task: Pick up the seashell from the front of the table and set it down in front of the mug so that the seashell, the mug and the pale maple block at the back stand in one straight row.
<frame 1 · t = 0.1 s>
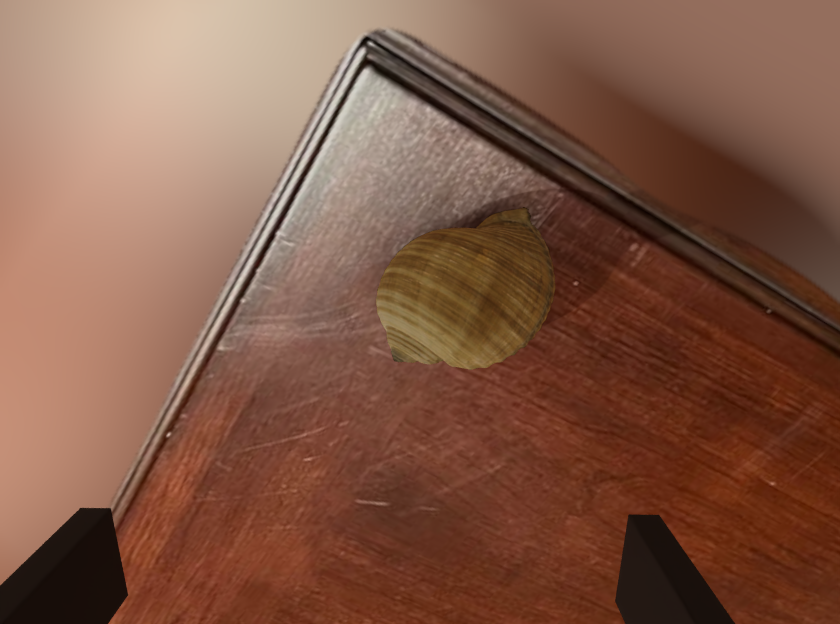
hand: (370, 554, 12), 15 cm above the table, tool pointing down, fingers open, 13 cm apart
seashell: (467, 279, 25), on the table
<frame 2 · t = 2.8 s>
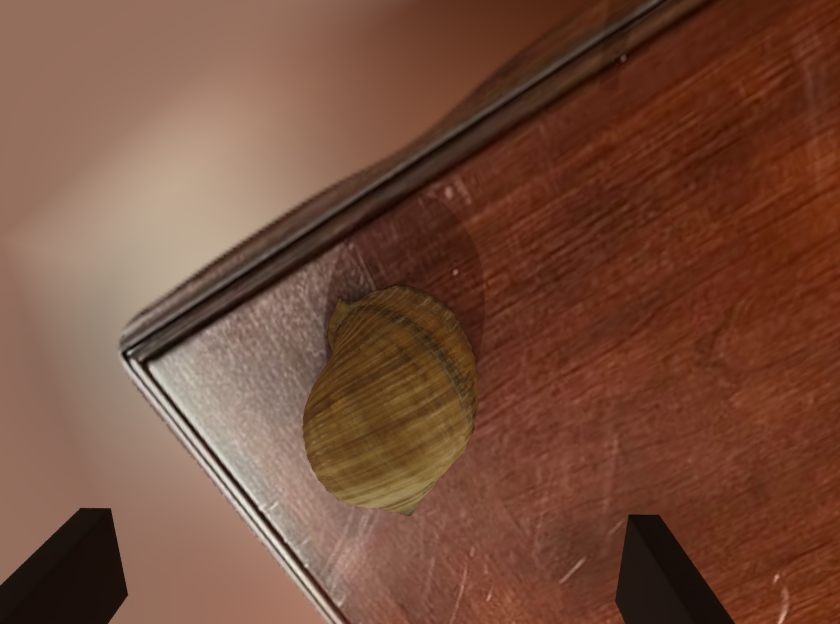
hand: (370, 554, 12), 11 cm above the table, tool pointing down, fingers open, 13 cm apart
seashell: (391, 373, 22), on the table
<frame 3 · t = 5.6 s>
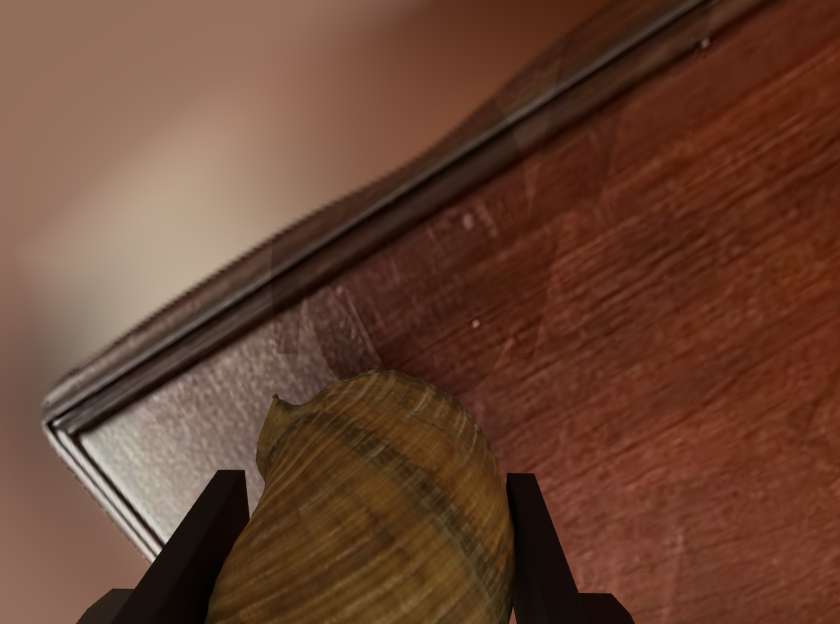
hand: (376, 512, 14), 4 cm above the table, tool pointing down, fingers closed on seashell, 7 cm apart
seashell: (369, 501, 14), point 3 cm above the table, touching gripper
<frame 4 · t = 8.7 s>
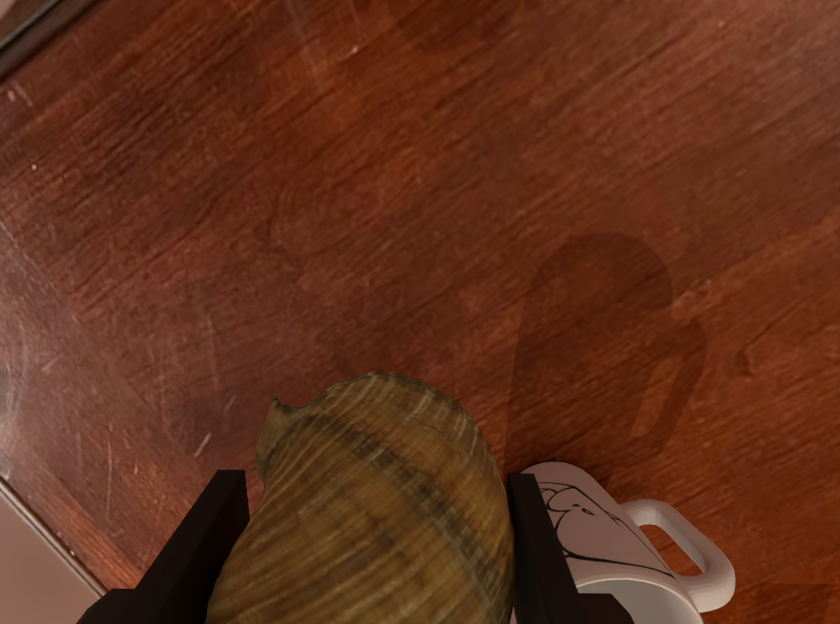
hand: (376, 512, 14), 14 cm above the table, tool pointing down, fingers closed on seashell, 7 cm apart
mug: (572, 496, 30), on the table
seashell: (368, 503, 14), point 14 cm above the table, touching gripper
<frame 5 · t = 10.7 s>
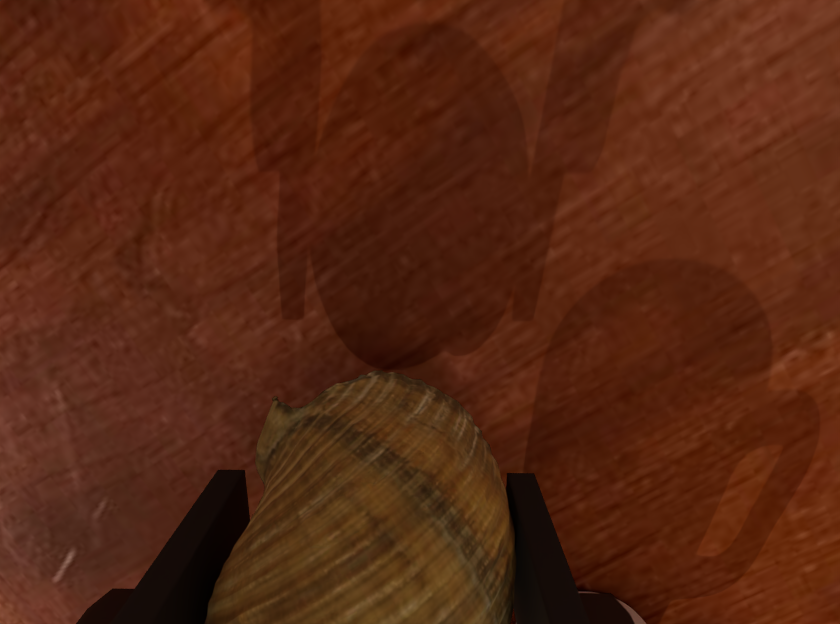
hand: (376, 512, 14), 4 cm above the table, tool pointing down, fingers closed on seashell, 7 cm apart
seashell: (369, 503, 14), point 4 cm above the table, touching gripper
when the fingers open (0 cm above the table, at t = 12.0 s): seashell stays where it is, on the table.
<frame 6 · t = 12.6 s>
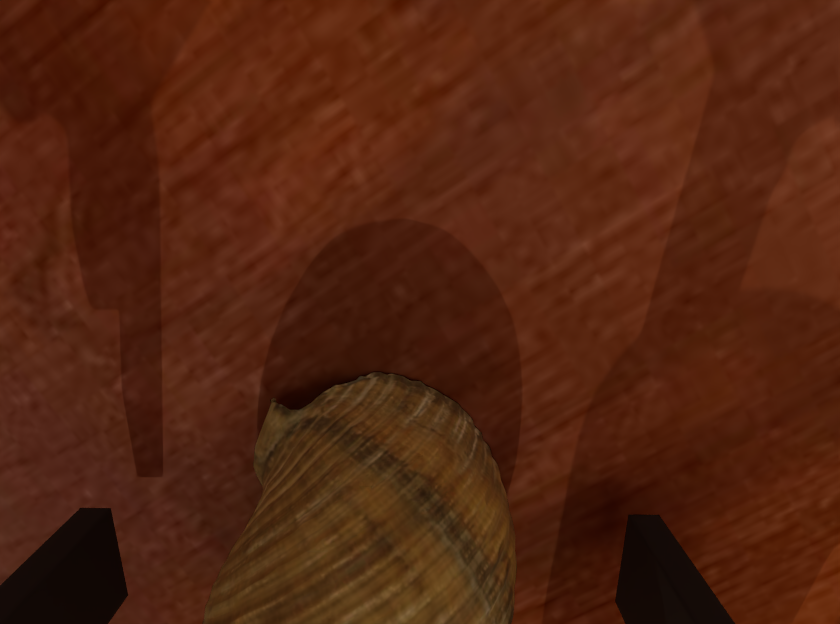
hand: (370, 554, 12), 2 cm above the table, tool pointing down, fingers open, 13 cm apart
seashell: (368, 505, 14), on the table
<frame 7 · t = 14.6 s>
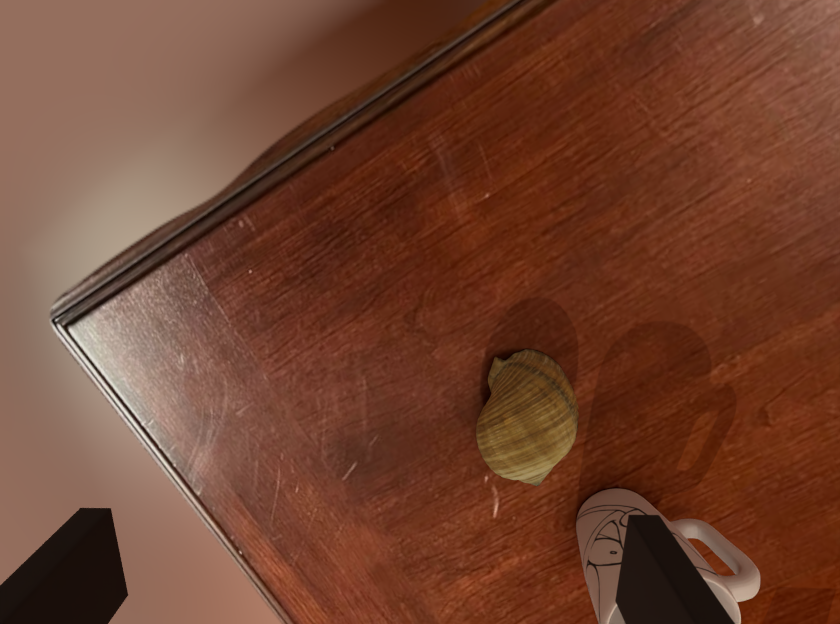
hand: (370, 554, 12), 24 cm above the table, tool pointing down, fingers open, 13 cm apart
mug: (630, 515, 39), on the table
seashell: (518, 401, 37), on the table
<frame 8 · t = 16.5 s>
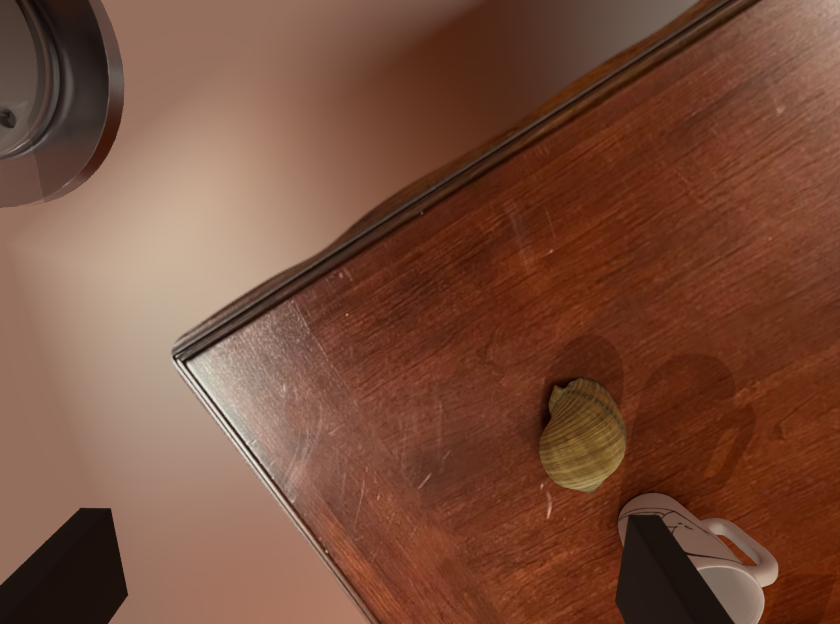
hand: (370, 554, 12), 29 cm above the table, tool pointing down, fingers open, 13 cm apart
mug: (663, 515, 46), on the table
seashell: (571, 420, 43), on the table
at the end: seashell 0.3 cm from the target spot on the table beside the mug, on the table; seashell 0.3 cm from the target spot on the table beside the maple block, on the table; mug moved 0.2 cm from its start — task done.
